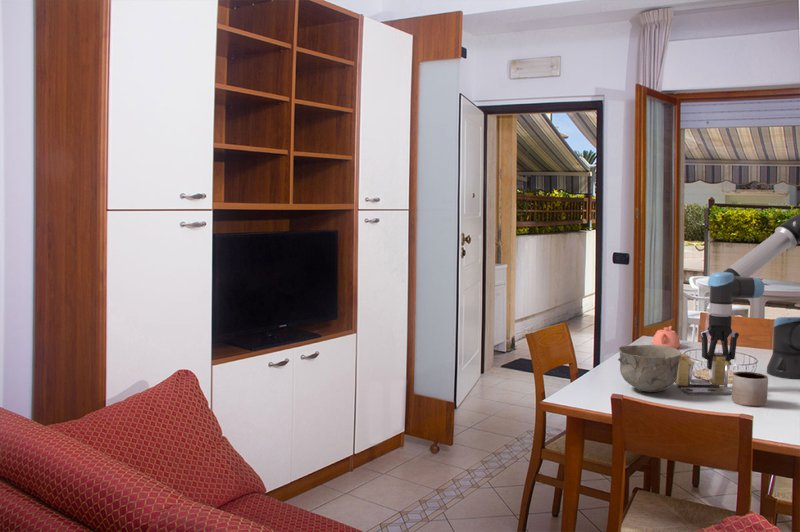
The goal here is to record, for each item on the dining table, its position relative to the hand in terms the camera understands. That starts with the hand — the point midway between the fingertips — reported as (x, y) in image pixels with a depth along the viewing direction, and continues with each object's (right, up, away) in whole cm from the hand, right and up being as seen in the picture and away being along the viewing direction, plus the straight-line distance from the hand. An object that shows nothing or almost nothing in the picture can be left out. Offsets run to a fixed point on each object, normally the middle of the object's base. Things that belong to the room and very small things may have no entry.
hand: (717, 377), depth 263 cm
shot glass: (-9, -3, +10) cm, 13 cm away
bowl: (-27, -4, -5) cm, 28 cm away
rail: (-7, -4, +1) cm, 8 cm away
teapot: (+9, +3, +74) cm, 74 cm away
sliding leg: (0, -2, -3) cm, 4 cm away
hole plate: (-7, -4, -7) cm, 10 cm away
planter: (+2, -6, -19) cm, 20 cm away
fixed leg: (-13, -3, -3) cm, 14 cm away
